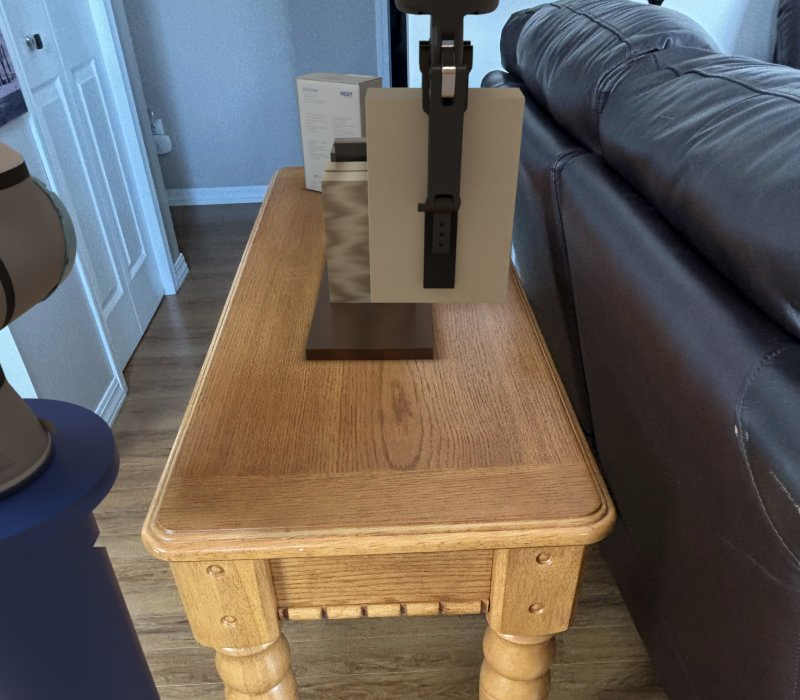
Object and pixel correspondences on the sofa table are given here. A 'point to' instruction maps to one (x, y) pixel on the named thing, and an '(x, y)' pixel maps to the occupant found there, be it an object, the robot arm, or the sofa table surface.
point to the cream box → (407, 186)
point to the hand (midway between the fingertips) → (438, 276)
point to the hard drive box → (329, 116)
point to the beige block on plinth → (358, 276)
